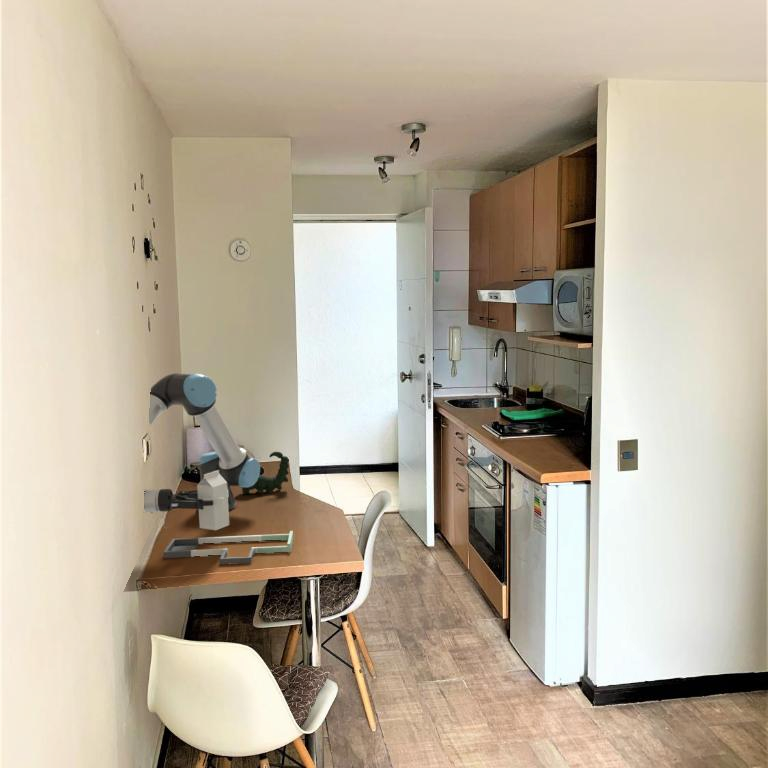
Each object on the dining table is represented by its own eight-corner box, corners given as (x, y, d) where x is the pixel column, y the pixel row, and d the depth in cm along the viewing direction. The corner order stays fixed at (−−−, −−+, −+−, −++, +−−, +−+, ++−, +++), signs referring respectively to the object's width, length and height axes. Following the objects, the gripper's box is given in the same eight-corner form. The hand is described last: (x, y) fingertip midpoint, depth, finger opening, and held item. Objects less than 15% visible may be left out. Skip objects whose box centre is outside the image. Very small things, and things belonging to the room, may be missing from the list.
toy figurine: (286, 491, 344) (229, 491, 338) (288, 449, 342) (231, 448, 336) (288, 496, 335) (230, 496, 329) (290, 453, 333) (231, 453, 327)
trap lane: (173, 544, 270) (172, 536, 269) (293, 539, 272) (292, 530, 271) (157, 567, 247) (156, 558, 246) (288, 561, 249) (288, 552, 249)
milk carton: (229, 525, 264) (226, 471, 261) (215, 531, 258) (212, 475, 255) (214, 522, 267) (210, 469, 265) (199, 528, 261) (196, 473, 259)
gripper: (167, 502, 272) (231, 499, 273) (152, 520, 250) (221, 517, 251) (166, 481, 271) (230, 478, 272) (150, 498, 249) (220, 495, 250)
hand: (225, 497), depth 262 cm, fingers closed on milk carton, 10 cm apart
